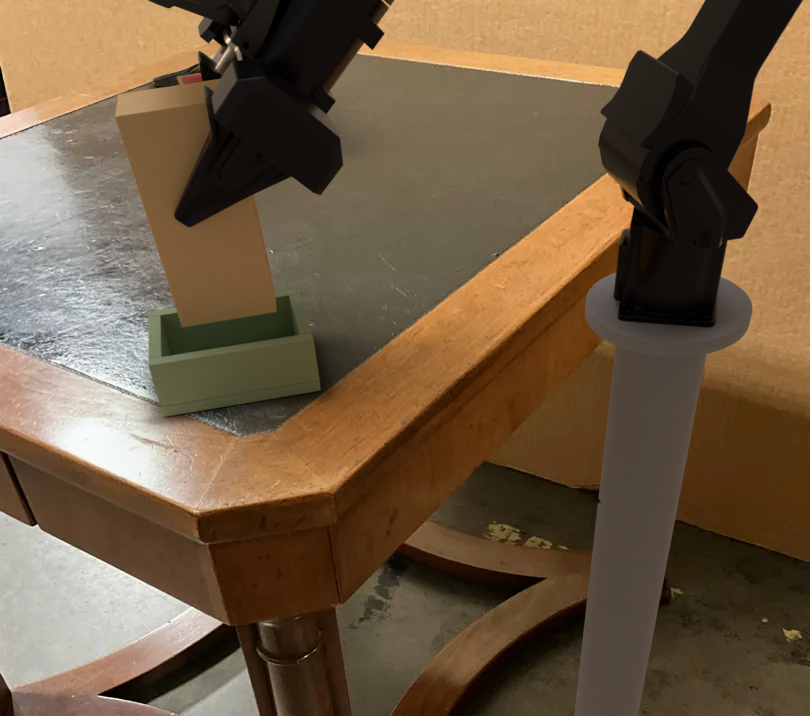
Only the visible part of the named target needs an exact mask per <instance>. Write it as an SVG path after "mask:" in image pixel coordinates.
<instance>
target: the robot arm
mask: <svg viewBox="0 0 810 716" xmlns="http://www.w3.org/2000/svg"><path fill="white" fill-rule="evenodd" d="M147 1H148V2H150V3H153V4H154V5H157V6H160V7H163V8H165V9H171V8H173V7H175V8H177V9H181V10H184V11H187V12H189V13H192V14H195V15H196V16H200V17H203V18H202V20H201V21H200V22H199V24H198V26H197V30H198V34H199V38H201V39H202V40H203V41H205V43H207V44H210V43H211V42H212V41H213V40H214V41H215V42H216V43H217V44H219V48H218V50H217V51H216V53H215V54H216V55H215V54H214V55H215V56H214V58H213V59H211V58H210V57H208V56H209V55H208V54H206V53H204V52H203V51H201V50H198V51H197V60H198V61H197V62H199V67H200V72H201V77H202V81H209V80H216V79H220V80H219V83H218V85H217V87H216V89H215V92H214V91H212V90H211V89H210V88H209V87H207V86H206V85H204V88H203V90H204V97H205V102H206V108H207V112H208V117H209V122H210V132H209V134H208V137H207V139H206V141H205V143H204V146H203V148H202V150H201V152H200V154H199V157H198V159H197V161H196V163H195V166H194V168H193V170H192V172H191V175H190V177H189V179H188V181H187V184H186V186H185V188H184V190H183V193H182V195H181V197H180V200H179V202H178V205H177V207H176V209H175V212H174V217H175V219H176V220H177V221H179V222H180V223H182V224H183V225H185V226H187V227H193V226H194V225H196V224H198V223H200V222H202V221H204V220H206V219H208V218H209V217H211V216H213V215H215V214H217V213H219V212H221V211H223V210H224V209H226V208H228V207H230V206H232V205H234V204H236V203H238V202H240V201H242V200H244V199H246V198H247V197H249V196H251V195H253V194H254V195H255V194H258V193H260V192H262V191H264V190H267V189H268V188H271V187H273V186H275V185H277V184H279V183H281V182H283V181H285V180H288V179H290V178H293V179H294V180H295V181H296V182H298V183H299V184H301V185H302V186H303V187H304V188H306V189H307V190H309V191H310V192H311V193H312V194H315V195H317V196H322V194H323V193H324V191H325V190H326V189H327V187H328V186H329V185H330V184H331V182H332V181H333V180H334V179H335V177H336V176H337V174H338V173H339V171H341V169H342V168H343V167H344V160H343V150H342V141H341V137H340V135H339V132H338V131H337V129H336V126H335V125H334V122H333V121H332V119H331V117H330V115H328V113H329V112H330V110H332V109H331V108H332V107H333V106H334V104H336V98H335V97H334V95H333V93H332V89H333V88H334V86H335V85H336V83H337V82H338V81H339V79H340V78H341V76H342V75H343V73H344V72H345V71H346V70H347V68H348V67H349V65H350V64H351V62H352V61H353V59H354V58H355V57H356V55H357V54H358V53H359V51H360V50H361V48H362V47H363V46H364V44H365V45H366V46H367V47H368V48H369V49H370V50H371V51H374V49H375V48H376V47H377V45H378V43H380V41H381V40H382V38H383V37H384V35H385V34H386V33H385V31H383V30H382V28H381V27H380V26H379V25H378V24H379V23H380V21H381V20H383V18H384V16H385V15H386V13H387V12H388V11H389V9H390V7H391V6H392V5H393V4H394V2H395V0H147ZM803 1H804V0H704V1H703V3H702V5H701V7H700V8H699V10H698V12H697V14H696V15H695V17H694V19H693V21H692V22H691V24H690V26H689V28H688V29H687V30H686V32H685V33H684V34H683V36H682V37H681V38H679V40H678V41H677V42H675V43H674V44H673V45H671V47H669V48H668V49H667V50H665V51H664V52H663V53H662V54H661V55H660V56H659V57H657V58H655V57H654V56H652V55H651V54H648V53H647V52H645V51H644V50H642V49H639V50H637V51H636V52H635V54H634V55H633V56H632V58H631V60H630V61H629V63H628V66H627V69H626V70H625V72H624V76H623V78H622V81H621V83H620V85H619V87H618V89H617V90H616V91H615V93H614V95H613V97H612V98H611V99H610V100H609V101H608V102H607V103H606V104H605V105H603V107H602V108H601V109H600V111H599V112H600V114H601V115H602V116H603V117H604V118H605V121H604V123H603V126H602V129H601V131H600V133H599V138H598V143H597V146H598V148H599V154H600V160H601V165H602V167H603V168H604V169H605V171H606V173H607V175H608V176H609V177H611V179H613V180H614V181H615V182H616V183H617V184H618V185H619V188H620V191H621V195H622V199H623V200H625V201H626V202H627V203H630V204H631V205H632V206H633V209H632V215H631V219H630V224H629V228H624V229H623V230H622V231H621V234H620V238H619V244H618V251H617V260H616V269H615V270H616V271H615V273H616V278H615V288H614V297H613V298H614V299H615V300H616V301H620V304H619V309H618V315H617V318H618V319H619V320H621V321H628V322H641V323H655V324H668V325H681V326H695V327H713V326H715V323H716V312H717V294H718V289H719V284H720V278H721V277H722V272H723V267H724V263H725V257H726V251H727V246H728V241H734V240H739V239H743V238H744V236H745V235H746V233H747V231H748V229H749V227H750V225H751V224H752V221H753V220H754V218H755V216H756V215H757V212H758V210H759V204H758V203H757V202H756V200H755V199H754V198H753V197H752V196H751V195H750V194H749V193H748V192H747V190H746V189H745V188H744V187H743V186H742V184H741V183H739V181H738V180H737V179H736V178H735V177H734V175H732V173H731V172H730V168H731V166H732V164H733V161H734V159H735V158H736V155H737V154H738V151H739V150H740V146H741V145H742V144H743V143H742V142H743V140H744V138H745V136H746V132H747V127H748V122H749V117H750V116H749V115H750V111H751V106H752V100H753V95H754V87H755V82H756V79H757V77H758V75H759V73H760V70H761V68H762V67H763V65H764V64H765V62H766V60H767V59H768V57H769V56H770V55H771V53H772V51H773V50H774V48H775V46H776V45H777V43H778V42H779V40H780V38H781V37H782V35H783V33H784V32H785V30H786V28H787V27H788V25H790V22H791V21H792V19H793V18H794V16H795V14H796V13H797V11H798V9H799V8H800V7H801V4H803Z"/></svg>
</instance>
